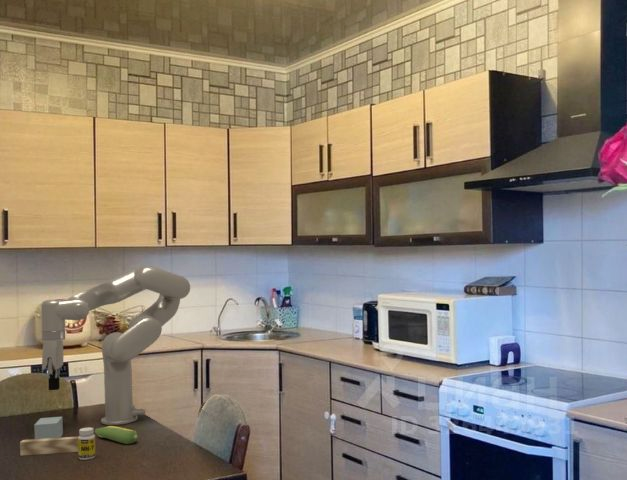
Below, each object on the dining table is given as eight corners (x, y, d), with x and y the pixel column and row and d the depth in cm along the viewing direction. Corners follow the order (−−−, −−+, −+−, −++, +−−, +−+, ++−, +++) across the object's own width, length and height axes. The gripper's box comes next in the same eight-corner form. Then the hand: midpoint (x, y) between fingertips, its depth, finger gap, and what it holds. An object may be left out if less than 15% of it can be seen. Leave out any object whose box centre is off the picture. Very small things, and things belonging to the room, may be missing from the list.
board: (90, 448, 210) (90, 435, 210) (88, 451, 208) (88, 438, 208) (23, 453, 208) (22, 440, 208) (20, 455, 205) (20, 442, 205)
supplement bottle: (79, 461, 198) (78, 432, 198) (77, 457, 202) (76, 428, 202) (96, 458, 200) (96, 429, 200) (94, 454, 204) (93, 426, 204)
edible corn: (129, 447, 211) (128, 432, 211) (91, 438, 223) (90, 424, 223) (142, 443, 215) (142, 428, 215) (104, 434, 227) (104, 420, 227)
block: (62, 434, 229) (62, 416, 229) (57, 441, 220) (57, 423, 220) (41, 436, 228) (40, 418, 228) (34, 443, 219) (34, 424, 219)
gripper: (48, 333, 241) (48, 385, 240) (35, 338, 226) (36, 394, 225) (70, 333, 242) (70, 385, 241) (59, 338, 227) (59, 393, 226)
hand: (54, 389), depth 233 cm, fingers closed
